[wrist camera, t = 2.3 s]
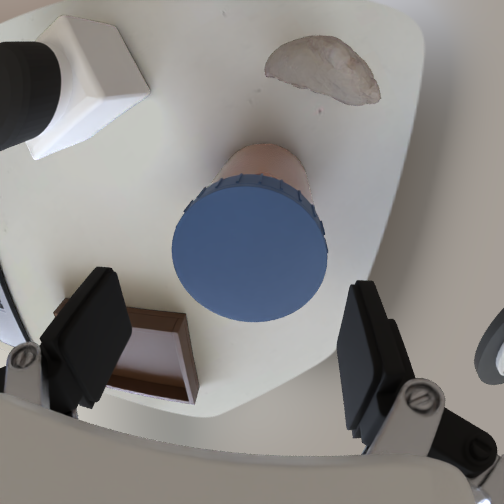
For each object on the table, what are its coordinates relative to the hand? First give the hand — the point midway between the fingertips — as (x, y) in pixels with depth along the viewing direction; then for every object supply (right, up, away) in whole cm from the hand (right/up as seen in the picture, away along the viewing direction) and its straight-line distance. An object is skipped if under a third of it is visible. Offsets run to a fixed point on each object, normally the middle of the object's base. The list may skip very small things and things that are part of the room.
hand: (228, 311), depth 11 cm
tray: (-13, -9, +23) cm, 28 cm away
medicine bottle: (-11, +16, +10) cm, 21 cm away
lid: (+1, +2, +3) cm, 4 cm away
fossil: (+5, +14, +8) cm, 17 cm away
